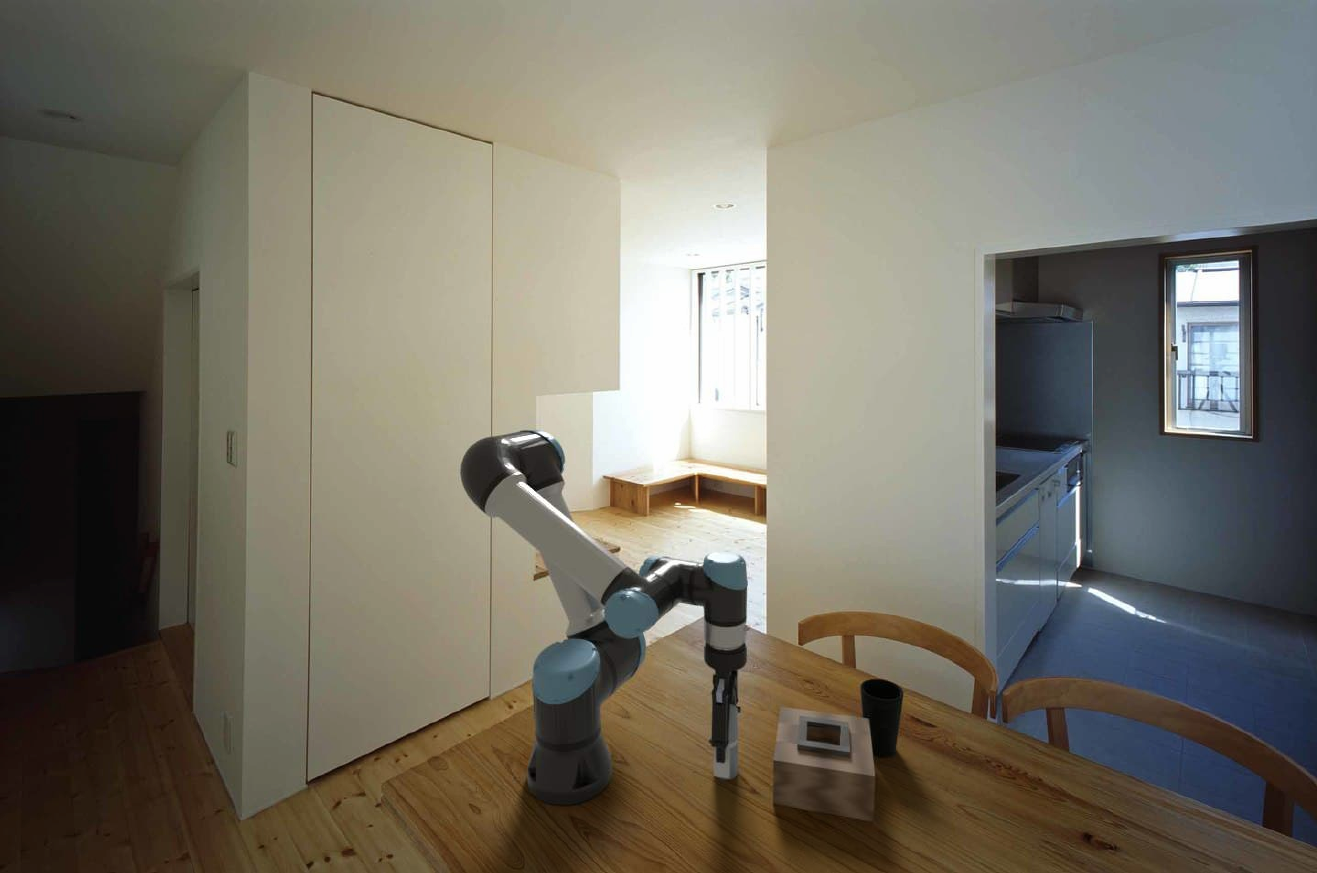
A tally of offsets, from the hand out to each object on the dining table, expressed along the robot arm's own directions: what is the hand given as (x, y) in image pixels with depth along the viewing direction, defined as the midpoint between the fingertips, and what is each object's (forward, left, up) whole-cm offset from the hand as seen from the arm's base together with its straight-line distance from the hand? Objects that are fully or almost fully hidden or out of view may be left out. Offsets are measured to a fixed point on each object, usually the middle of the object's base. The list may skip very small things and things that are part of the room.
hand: (725, 760), depth 110 cm
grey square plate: (+17, +2, +3) cm, 17 cm away
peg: (0, 0, -2) cm, 2 cm away
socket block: (+17, +2, -2) cm, 17 cm away
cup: (+27, +14, -2) cm, 31 cm away
